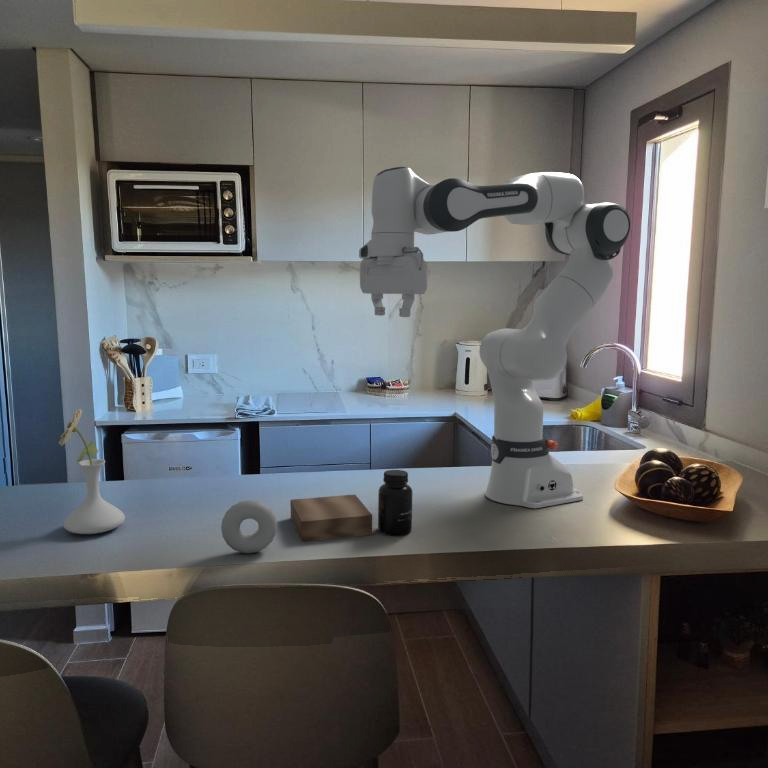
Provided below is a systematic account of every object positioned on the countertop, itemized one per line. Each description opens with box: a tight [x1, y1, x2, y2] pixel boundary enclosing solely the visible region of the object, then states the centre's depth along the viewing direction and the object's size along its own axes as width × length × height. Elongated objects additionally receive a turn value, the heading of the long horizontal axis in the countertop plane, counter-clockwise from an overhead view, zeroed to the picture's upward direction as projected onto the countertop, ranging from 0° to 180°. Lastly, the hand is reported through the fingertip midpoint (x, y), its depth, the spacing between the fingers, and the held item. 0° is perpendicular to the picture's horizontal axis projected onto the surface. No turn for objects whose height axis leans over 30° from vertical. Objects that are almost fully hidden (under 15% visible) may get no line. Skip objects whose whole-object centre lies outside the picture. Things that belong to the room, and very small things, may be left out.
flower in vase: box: [58, 408, 126, 535], centre depth 132 cm, size 13×11×25 cm
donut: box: [220, 499, 278, 555], centre depth 122 cm, size 10×4×10 cm, turn 100°
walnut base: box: [290, 494, 373, 542], centre depth 137 cm, size 14×14×4 cm
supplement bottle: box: [377, 469, 413, 537], centre depth 134 cm, size 7×7×12 cm
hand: (391, 316), depth 140 cm, fingers open, 8 cm apart
